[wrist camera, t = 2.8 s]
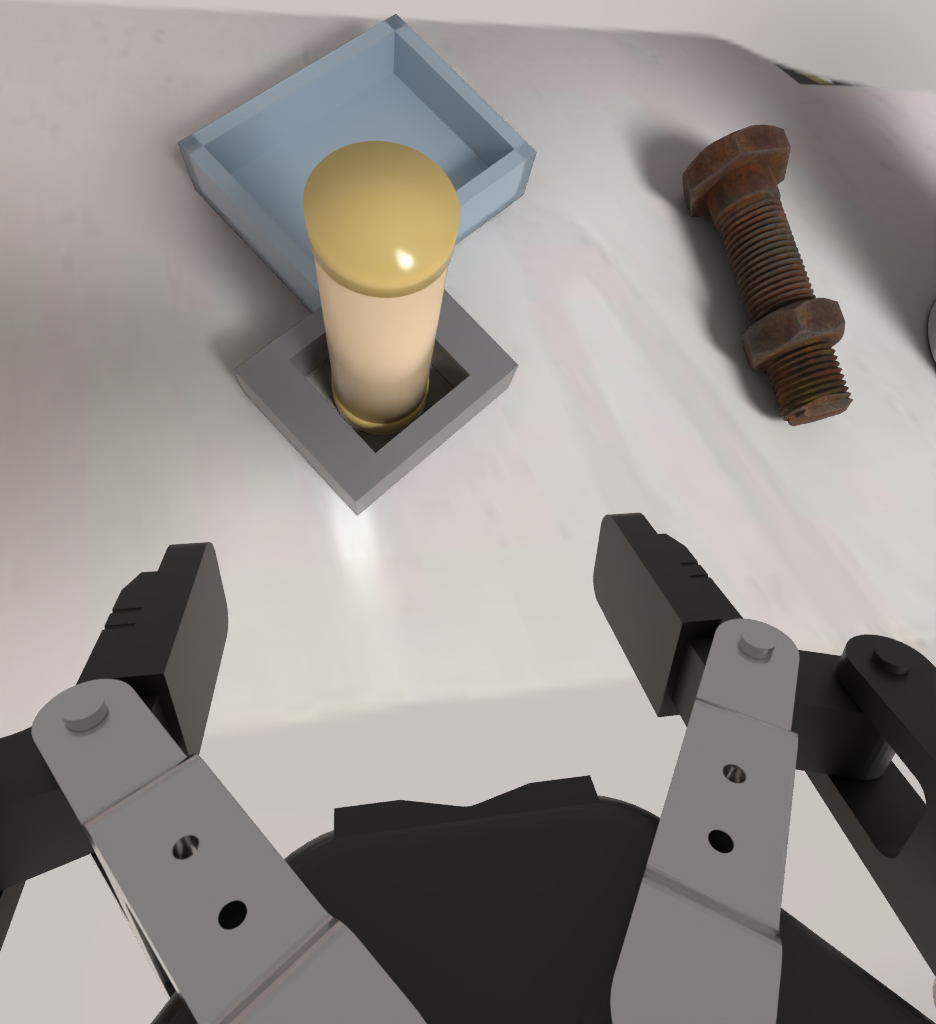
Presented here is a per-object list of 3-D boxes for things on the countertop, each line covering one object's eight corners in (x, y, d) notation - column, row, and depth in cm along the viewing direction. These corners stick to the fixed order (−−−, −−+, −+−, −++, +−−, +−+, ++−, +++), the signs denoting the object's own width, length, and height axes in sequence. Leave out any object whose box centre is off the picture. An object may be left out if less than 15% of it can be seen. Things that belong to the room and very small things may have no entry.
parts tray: (394, 66, 36) (395, 13, 33) (523, 194, 35) (536, 152, 32) (195, 189, 33) (177, 142, 30) (333, 335, 32) (329, 301, 29)
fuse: (384, 331, 32) (388, 115, 20) (446, 396, 32) (490, 218, 19) (313, 385, 31) (269, 192, 18) (376, 453, 31) (375, 303, 18)
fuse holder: (401, 278, 33) (403, 247, 31) (507, 388, 32) (518, 365, 30) (244, 393, 30) (233, 370, 28) (357, 515, 30) (355, 502, 27)
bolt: (763, 443, 36) (684, 208, 38) (862, 413, 34) (773, 170, 37) (772, 421, 30) (680, 150, 33) (890, 385, 29) (784, 102, 31)
